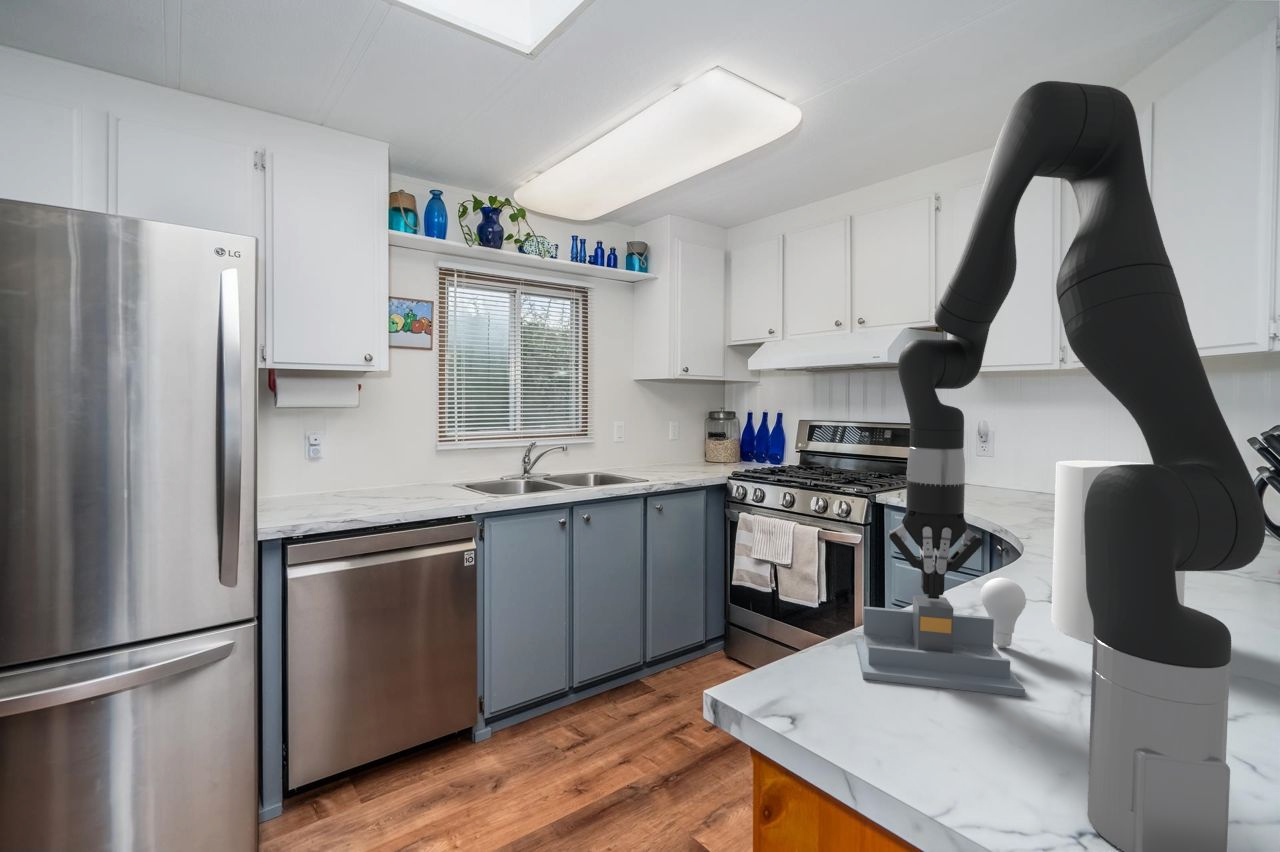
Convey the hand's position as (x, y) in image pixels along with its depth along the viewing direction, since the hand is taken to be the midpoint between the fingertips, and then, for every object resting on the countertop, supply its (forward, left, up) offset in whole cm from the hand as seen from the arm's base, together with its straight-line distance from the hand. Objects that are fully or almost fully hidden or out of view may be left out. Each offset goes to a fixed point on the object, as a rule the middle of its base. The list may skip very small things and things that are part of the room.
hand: (932, 597), depth 89 cm
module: (0, 0, -8) cm, 8 cm away
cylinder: (+22, -32, -10) cm, 40 cm away
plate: (0, 0, -9) cm, 9 cm away
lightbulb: (+10, -12, -10) cm, 19 cm away
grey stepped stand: (-1, 0, -10) cm, 10 cm away
